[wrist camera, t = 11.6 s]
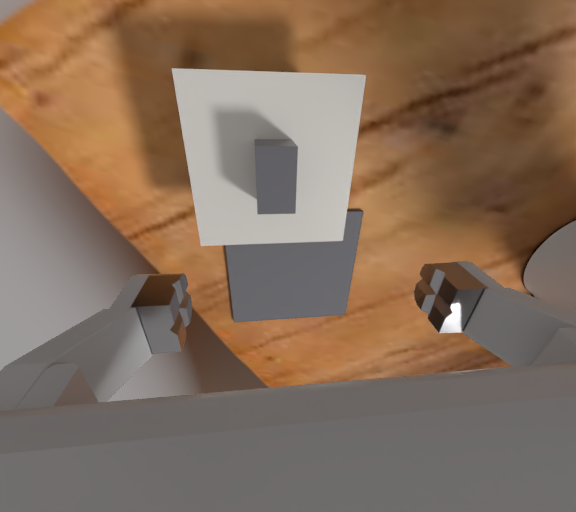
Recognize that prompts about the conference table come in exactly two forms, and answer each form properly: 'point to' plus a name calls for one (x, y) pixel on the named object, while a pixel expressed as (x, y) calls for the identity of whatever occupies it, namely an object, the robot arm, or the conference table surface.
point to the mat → (293, 276)
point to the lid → (269, 153)
